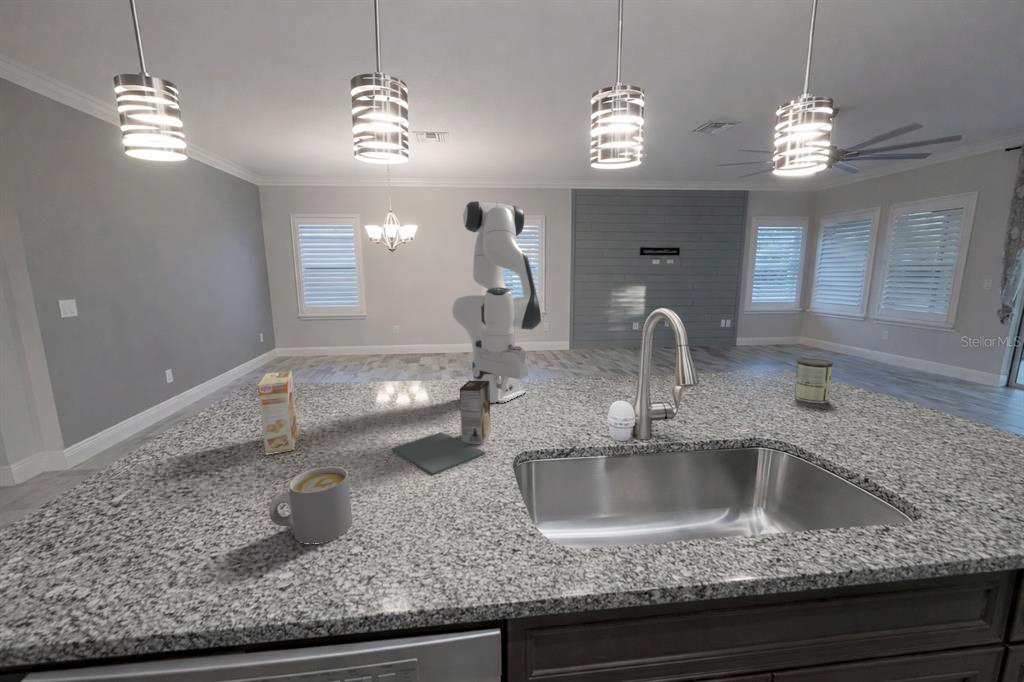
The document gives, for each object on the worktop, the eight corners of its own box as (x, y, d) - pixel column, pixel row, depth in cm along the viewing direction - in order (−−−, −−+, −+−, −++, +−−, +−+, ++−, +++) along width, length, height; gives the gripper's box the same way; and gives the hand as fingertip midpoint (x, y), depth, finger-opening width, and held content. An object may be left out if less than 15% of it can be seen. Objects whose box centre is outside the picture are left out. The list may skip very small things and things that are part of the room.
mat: (441, 434, 123) (441, 432, 123) (484, 454, 109) (484, 452, 109) (391, 450, 112) (391, 448, 112) (432, 475, 98) (432, 472, 98)
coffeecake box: (294, 451, 113) (287, 382, 110) (264, 456, 110) (255, 385, 107) (299, 432, 126) (292, 370, 123) (272, 436, 124) (265, 372, 121)
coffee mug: (356, 510, 84) (353, 464, 82) (346, 541, 74) (341, 489, 73) (285, 518, 82) (280, 470, 80) (265, 551, 72) (258, 497, 70)
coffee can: (790, 394, 157) (794, 357, 155) (823, 396, 153) (827, 359, 151) (798, 401, 147) (802, 363, 145) (833, 404, 144) (837, 365, 141)
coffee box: (470, 431, 125) (469, 379, 122) (491, 432, 124) (490, 380, 121) (461, 443, 116) (459, 388, 114) (483, 445, 115) (481, 389, 112)
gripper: (532, 345, 117) (533, 393, 119) (485, 338, 132) (487, 380, 134) (517, 348, 113) (517, 398, 115) (470, 341, 127) (471, 384, 130)
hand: (500, 388), depth 125 cm, fingers closed
